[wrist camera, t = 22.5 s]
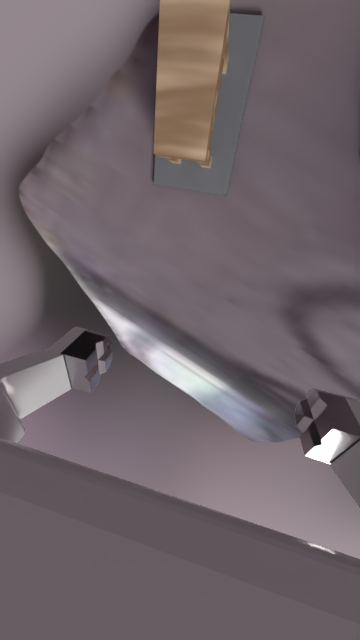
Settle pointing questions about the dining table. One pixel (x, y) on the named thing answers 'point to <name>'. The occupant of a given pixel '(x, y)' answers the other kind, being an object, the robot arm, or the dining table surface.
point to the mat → (221, 115)
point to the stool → (189, 77)
